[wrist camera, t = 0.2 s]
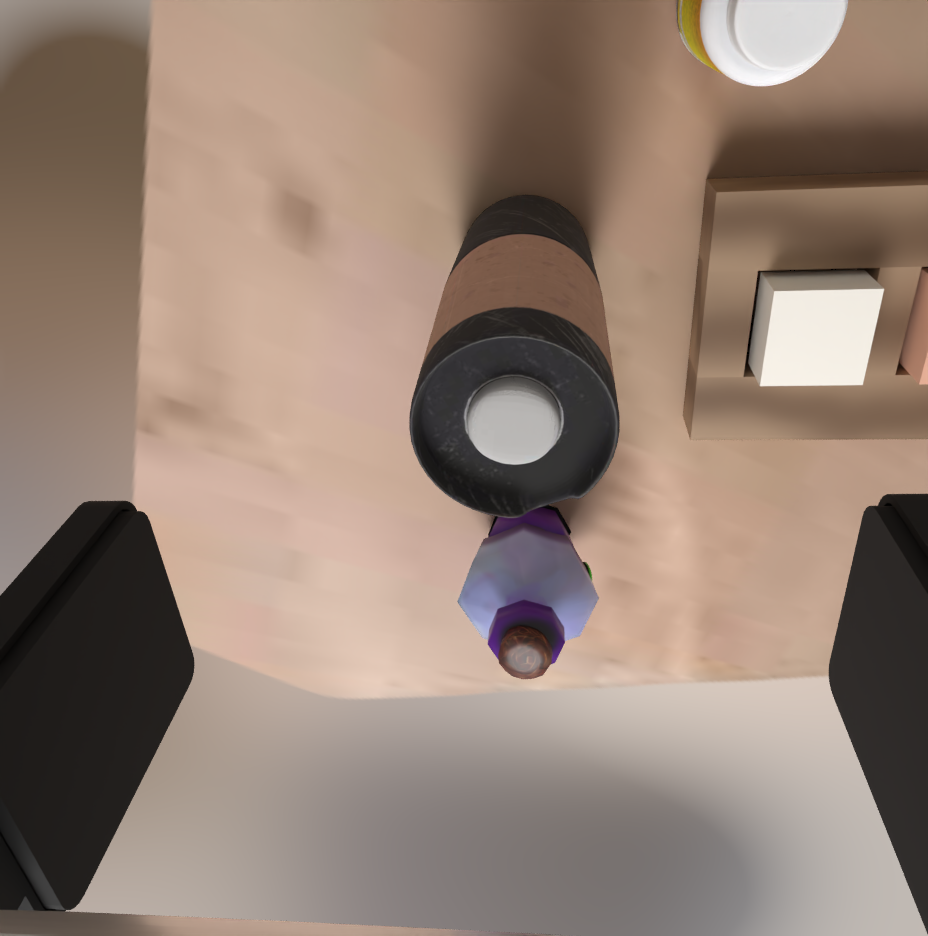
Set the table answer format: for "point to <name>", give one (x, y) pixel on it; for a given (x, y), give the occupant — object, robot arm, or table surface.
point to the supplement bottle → (759, 35)
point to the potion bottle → (528, 591)
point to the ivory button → (814, 327)
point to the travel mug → (518, 366)
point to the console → (801, 248)
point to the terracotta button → (917, 334)
